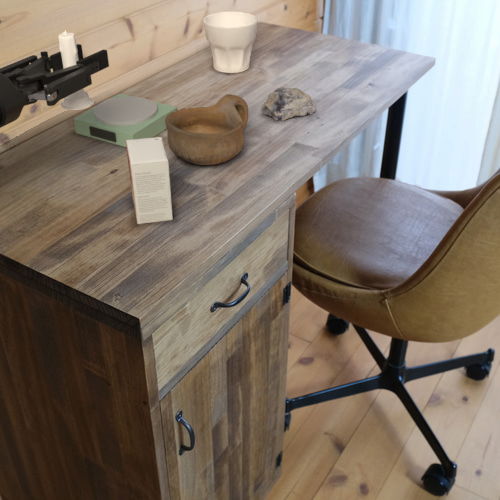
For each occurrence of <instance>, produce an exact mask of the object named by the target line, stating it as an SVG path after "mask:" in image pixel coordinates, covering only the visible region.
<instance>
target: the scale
mask: <svg viewBox="0 0 500 500" xmlns="http://www.w3.org/2000/svg"><path fill="white" fill-rule="evenodd" d="M177 110H178V108H177V106H175V105H170V104H166V103H162V102H158V101H154V100H151V99H149V98H146V97H142V96H141V97H140V96H132V95H129V94H124V93H118V94H116V95H114V96H112V97H111V98H108V99H106V100H104V101H102V102H99V103H98V104H96V106H94V107H92V108H90V109H89V110H87V111H85V112H83V113H81V114H79V115H77V116H75V117H74V118H73V119H72V121H73V127H74V130H75V134H78V135H81V136H84V137H88V138H92V139H95V140H99V141H102V142H106V143H110V144H113V145H117V146H119V147H120V146H121V147H124V148H126V140H133V139H144V138H154V137H157V135H159V134H161V133H162V132H163V131H165V130H167V127H166V124H165V118H166V116H167V115H168V114H170V113H172V112H175V111H177Z"/></svg>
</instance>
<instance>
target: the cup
mask: <svg viewBox="0 0 500 500" xmlns="http://www.w3.org/2000/svg"><path fill="white" fill-rule="evenodd" d="M202 19H203V21H202V22H203V26H204V33H205V38H206V40H207V42H208V43H209V47H210V51H211V52H210V53H211V57H212V62H213V69H214V70H215V71H217V72H219V73H223V74H239V73H244V72H245V71H248V69H249V68H250V62H251V56H252V50H253V45H254V42H255V41H256V39H257V30H258V24H259V19H258V17H257V16H256V15H254V14H252V13H248V12H244V11H235V10H233V11H232V10H231V11H220V12H213V13H210V14H208V15H206V16H205V17H203V18H202Z"/></svg>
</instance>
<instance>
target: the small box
mask: <svg viewBox="0 0 500 500" xmlns="http://www.w3.org/2000/svg"><path fill="white" fill-rule="evenodd" d="M125 148H126V157H127V165H128V173H129V179H130V180H129V182H130V190H131V197H132V202H133V207H134V213H135V214H134V215H135V219H136V224H137V225H144V224H151V223H161V222H168V221H173V219H174V218H173V204H172V191H171V189H172V188H171V177H170V163H169V159H168V157H167V153H166V150H165V145H164V140H163V137H162V136H154V137H153V138H144V139H133V140H126V147H125Z"/></svg>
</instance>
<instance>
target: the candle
mask: <svg viewBox="0 0 500 500" xmlns="http://www.w3.org/2000/svg"><path fill="white" fill-rule="evenodd" d="M57 38H58V44H59V52H61V57H62V63H63V68H67V67H71V66H74V65H76V61H79V59H78V50H77V46H76V45H77V41H76V35H75V33H74V32H67V30H66V29H65V30H64V31H63V32H61V33H59V34H58V37H57ZM94 103H95V100H94V99H93V98H92V97H90V95H89V93H88V92H87V91H85V89H84V88H83V89H81V90H79V91H77V92H75V93H73V94H71V95H69V96H67V97H65V98H63V100H62V101H61V102H60V106H61V108H62V109H64V110H66V111H82V110H86V109H88V108H91V107H93V105H94Z"/></svg>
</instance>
